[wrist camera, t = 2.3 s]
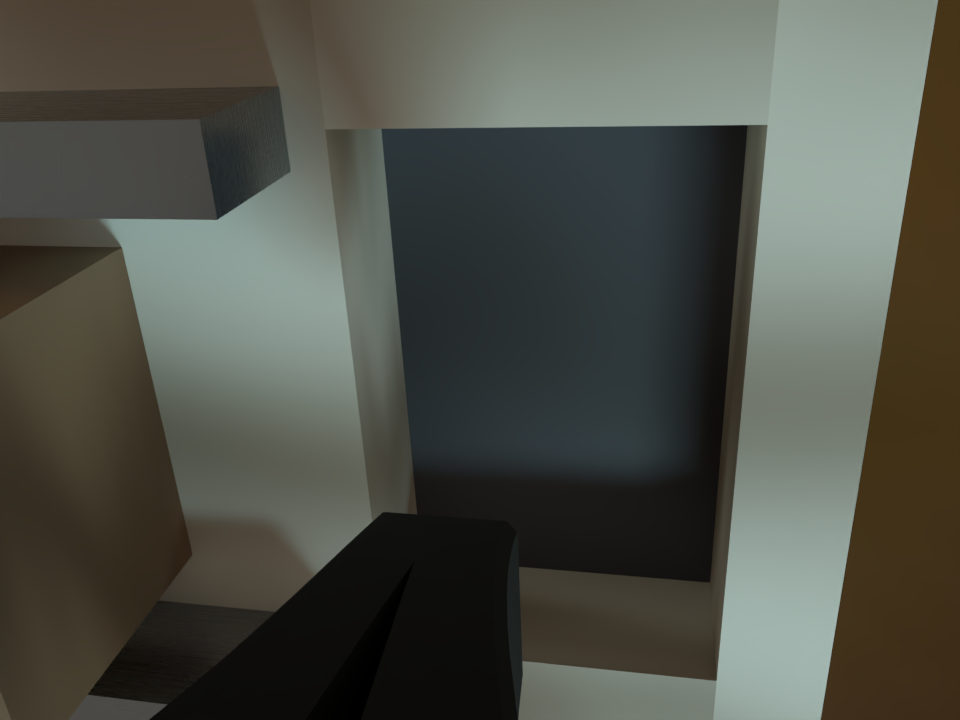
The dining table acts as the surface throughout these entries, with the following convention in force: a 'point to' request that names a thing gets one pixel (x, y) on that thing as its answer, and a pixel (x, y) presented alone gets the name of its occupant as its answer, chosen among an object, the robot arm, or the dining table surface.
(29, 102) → the grey metal bar
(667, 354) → the grey flat piece
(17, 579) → the walnut block
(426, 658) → the robot arm
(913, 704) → the dining table surface
